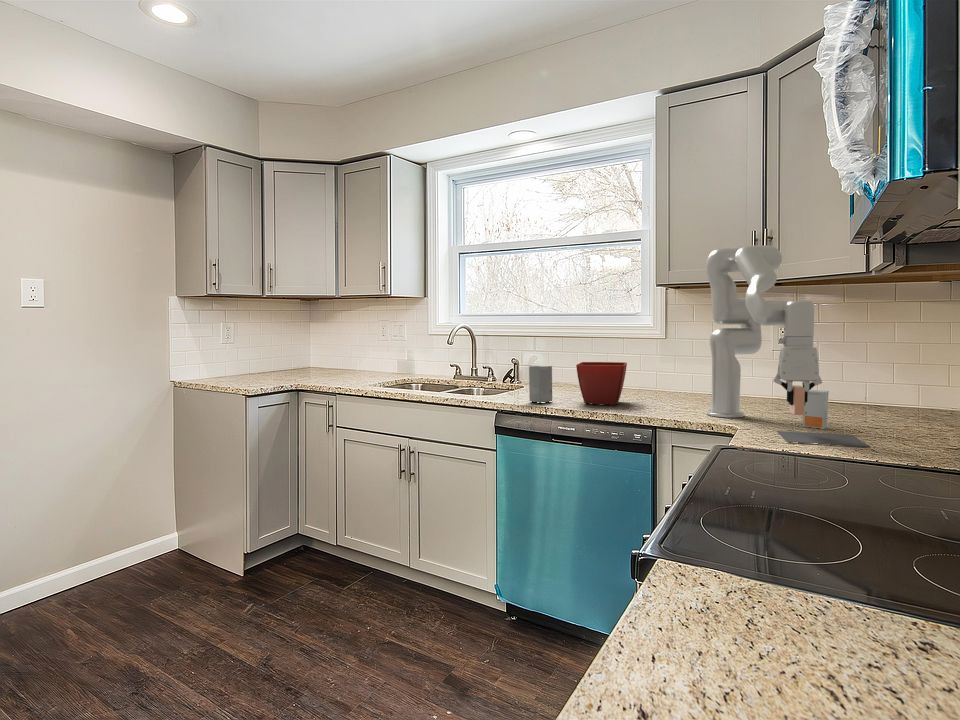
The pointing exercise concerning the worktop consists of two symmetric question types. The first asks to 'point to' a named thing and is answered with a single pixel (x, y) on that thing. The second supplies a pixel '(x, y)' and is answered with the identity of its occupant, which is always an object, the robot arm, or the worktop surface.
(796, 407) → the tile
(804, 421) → the skincare box
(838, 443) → the mat
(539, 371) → the grey canister
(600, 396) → the plant pot
